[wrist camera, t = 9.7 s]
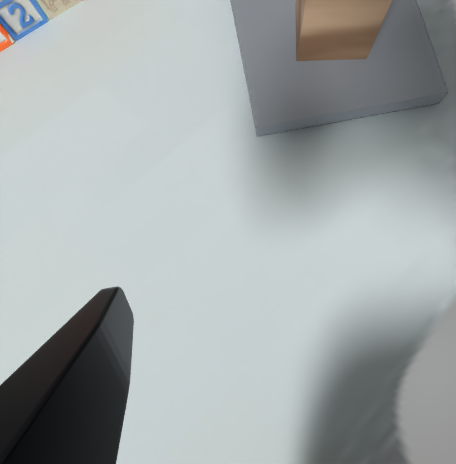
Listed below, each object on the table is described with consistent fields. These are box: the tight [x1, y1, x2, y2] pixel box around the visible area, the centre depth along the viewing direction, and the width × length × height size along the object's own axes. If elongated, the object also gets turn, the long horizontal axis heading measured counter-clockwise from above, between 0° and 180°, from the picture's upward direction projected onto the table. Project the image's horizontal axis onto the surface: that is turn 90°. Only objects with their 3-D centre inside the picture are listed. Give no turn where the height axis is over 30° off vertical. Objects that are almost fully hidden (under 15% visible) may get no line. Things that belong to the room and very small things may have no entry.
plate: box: [231, 0, 448, 136], centre depth 24 cm, size 12×12×1 cm
